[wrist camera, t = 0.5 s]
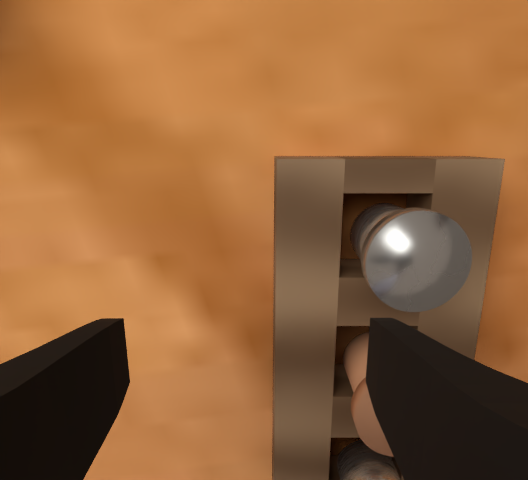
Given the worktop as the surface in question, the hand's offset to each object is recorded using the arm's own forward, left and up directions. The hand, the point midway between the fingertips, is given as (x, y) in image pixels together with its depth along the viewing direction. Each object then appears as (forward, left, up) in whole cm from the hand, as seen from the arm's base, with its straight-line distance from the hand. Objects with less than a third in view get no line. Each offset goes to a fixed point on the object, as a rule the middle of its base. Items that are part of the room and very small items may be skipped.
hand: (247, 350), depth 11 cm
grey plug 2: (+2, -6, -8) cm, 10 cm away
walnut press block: (-5, -6, -10) cm, 13 cm away
